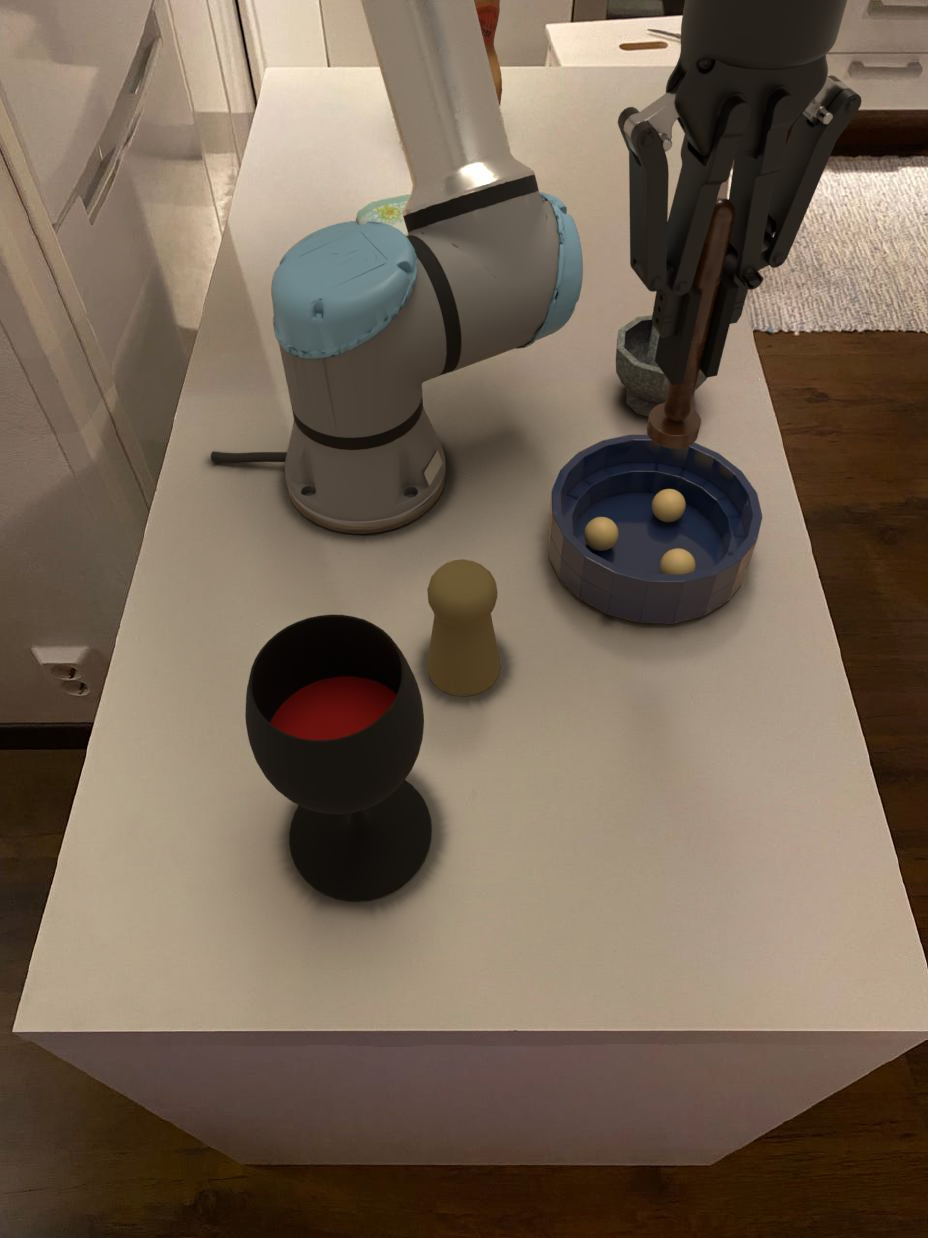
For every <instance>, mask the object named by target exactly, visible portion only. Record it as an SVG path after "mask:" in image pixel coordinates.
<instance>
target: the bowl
mask: <svg viewBox="0 0 928 1238" xmlns="http://www.w3.org/2000/svg"><path fill="white" fill-rule="evenodd" d="M665 489H674V490H676V491H678V492H680V493H681V494H682V496H683V497H684V499H685V503H686V507H685V511H684V513H683V515H682V516H681V517H680V518H679V519H678V520H676V521H673V522H663V521H661V520H659V519H658V518H657V517H656V516H655V515H654V513H653V511H652V501H653V499H654V497H655V496H656V494H657V493H659V492H660V491H662V490H665ZM550 492H551V493H550V503H549V514H548V515H549V516H548V527H547V550H548V551H547V552H548V558H549V560H550V562H551V565H552V566H553V568H554V570H555V572H556V574H557V577H558V578H559V581H561V582H562V583H563V584H564V586H566V587H567V588H568V590H570V591H571V593H572V594H574V595H575V597H577V598H578V599H579V600H581V601H582V602H583V603H586V604H587V605H589V606H591V607H593V608H595V609H597V610H598V611H600V612H601V613H604V614H606V615H608V616H611V617H615V618H620V619H623V620H627V621H631V622H635V623H638V624H639V623H640V624H669V625H670V624H671V625H672V624H673V625H674V624H677V623H681V622H685V621H686V622H687V621H690V620H694V619H698V618H701V617H704V616H706V615H708V614H710V613H711V612H713V611H714V610H716V609H717V608H720V607H721V606H723V605H724V604H726V603H727V602H729V601H730V599H731V598H732V597H733V596H734V594H736V592H737V590H738V589H739V588H740V586H741V585H742V584H743V582H744V581H745V577H746V574H747V571H748V569H749V566H750V563H751V560H752V557H753V554H754V552H755V548H756V545H757V542H758V539H759V535H760V530H761V525H762V521H763V512H762V507H761V503H760V500H759V496H758V495H759V494H758V493H757V490H756V489H755V487H753V485H752V484H751V482H750V481H749V479H748V478H747V477H746V475H745V474H744V472H743V471H742V470H741V469H740V468H739V467H738V466H736V465H734V464H733V462H731V461H729V460H728V459H727V458H726V457H724V456H723V455H722V454H720V452H717V451H715V450H712V449H710V448H708V447H705V446H704V445H701V444H699V443H697V442H696V441H695V442H694V443H693V444H691V445H690V446H688V447H685V448H679V449H671V448H666V447H663V446H660V445H658V444H656V443H655V442H653V441H652V440H651V439H650V437H649V436H648V434H627V435H622V436H617V437H612V438H607V439H603V440H600V441H598V442H597V443H595V444H592V445H590V446H588V447H586V448H584V449H581V450H580V451H578V452H577V453H576V454H575V455H574V456H573V457H571V459H570V460H569V461H567V462H566V463H565V464H564V466H563V467H561V469H559V471H558V474H557V477H556V479H555V481H554V484H553V486H552V488H551V491H550ZM597 517H606V518H609V519H611V520H612V521H613V522H614V523H615V524H616V526H617V528H618V539H617V542H616V543H615V545H614V546H613V547H612V548H610V549H608V550H605V551H597V550H594V549H592V548H591V547H590V546H589V545H588V544H587V543H586V541H585V537H584V531H585V528H586V526H587V524H588V523H589V522H590V521H591V520H593V519H594V518H597ZM677 548H679V549H684V550H686V551H688V552H689V553H690V554H691V555H692V556H693V558H694V560H695V564H696V567H695V572H691V573H686V574H682V575H667V574H661V571H660V561H661V559H662V557H663V555H664V554H665V553H666V552H668V551H669V550H672V549H677Z"/></svg>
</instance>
